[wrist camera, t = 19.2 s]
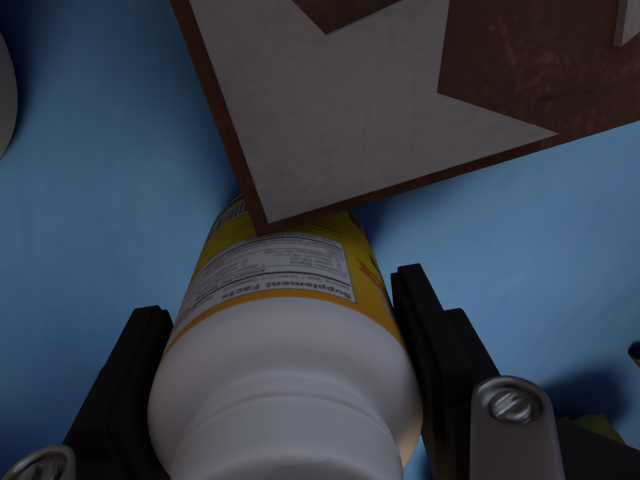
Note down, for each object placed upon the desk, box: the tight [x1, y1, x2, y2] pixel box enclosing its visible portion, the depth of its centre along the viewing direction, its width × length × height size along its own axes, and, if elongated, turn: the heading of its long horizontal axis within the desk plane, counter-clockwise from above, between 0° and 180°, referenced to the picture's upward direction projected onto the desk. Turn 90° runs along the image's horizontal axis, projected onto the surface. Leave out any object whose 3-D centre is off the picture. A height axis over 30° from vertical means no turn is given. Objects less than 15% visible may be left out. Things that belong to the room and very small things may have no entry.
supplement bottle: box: [147, 194, 423, 480], centre depth 12 cm, size 6×6×10 cm
